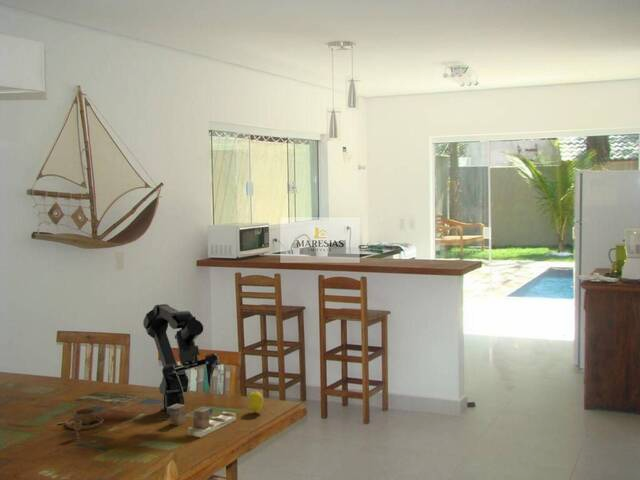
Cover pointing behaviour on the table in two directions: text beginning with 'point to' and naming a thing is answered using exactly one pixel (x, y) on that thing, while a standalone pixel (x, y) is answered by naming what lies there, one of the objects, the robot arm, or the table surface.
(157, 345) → the robot arm
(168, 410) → the gray and beige block
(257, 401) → the lemon
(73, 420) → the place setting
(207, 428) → the rail
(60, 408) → the table surface
